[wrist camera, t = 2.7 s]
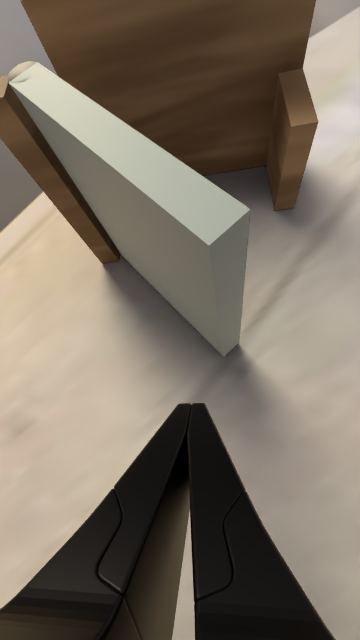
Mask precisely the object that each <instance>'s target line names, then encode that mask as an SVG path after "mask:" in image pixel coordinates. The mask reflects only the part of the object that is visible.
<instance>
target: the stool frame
mask: <svg viewBox="0 0 360 640" xmlns="http://www.w3.org/2000/svg"><path fill="white" fill-rule="evenodd" d="M20 1H21V3H22V5H23V7H24V9H25V11H26V13H27V15H28V17H29V19H30V21H31V23H32V25H33V27H34V29H35V31H36V33H37V35H38V37H39V39H40V41H41V43H42V45H43V47H44V49H45V51H46V53H47V55H48V57H49V59H50V61H51V63H52V65H53V67H54V69H55V71H56V73H57V75H58V77H59V78H61V79H62V80H64V81H65V82H67V83H68V84H70V85H71V86H72V87H74V88H75V89H77V90H78V91H80V92H81V93H83V94H84V95H85V96H87V97H88V98H90V99H91V100H93V101H94V102H96V103H97V104H99V105H100V106H101V107H103V108H104V109H106V110H107V111H109V112H110V113H112V114H113V115H115V116H116V117H117V118H119V119H120V120H122V121H123V122H125V123H126V124H128V125H129V126H130V127H132V128H133V129H135V130H136V131H138V132H139V133H141V134H142V135H144V136H145V137H146V138H148V139H149V140H151V141H152V142H154V143H155V144H157V145H158V146H159V147H161V148H162V149H164V150H165V151H167V152H168V153H170V154H171V155H173V156H174V157H175V158H177V159H178V160H180V161H181V162H183V163H184V164H186V165H187V166H189V167H190V168H191V169H193V170H194V171H196V172H197V173H199V174H200V175H202V176H205V175H211V174H217V173H223V172H229V171H235V170H241V169H247V168H253V167H259V166H265V165H266V167H267V172H268V177H269V183H270V188H271V194H272V199H273V204H274V210H282V209H289V208H294V205H295V202H296V198H297V195H298V191H299V188H300V184H301V181H302V177H303V174H304V170H305V167H306V163H307V160H308V156H309V153H310V149H311V146H312V142H313V139H314V135H315V131H316V128H317V124H318V119H317V116H316V112H315V109H314V105H313V102H312V99H311V95H310V92H309V88H308V85H307V82H306V78H305V75H304V72H303V63H304V58H305V53H306V48H307V43H308V38H309V33H310V28H311V22H312V18H313V12H314V7H315V2H316V0H20ZM0 138H1V139H2V141H3V142H4V143H5V145H6V146H7V147H8V148H9V149H10V151H11V152H12V153H13V154H14V156H15V157H16V158H17V159H18V161H19V162H20V163H21V164H22V165H23V167H24V168H25V169H26V170H27V172H28V173H29V174H30V175H31V177H32V178H33V179H34V180H35V181H36V183H37V184H38V185H39V186H40V188H41V189H42V190H43V191H44V193H45V194H46V195H47V196H48V197H49V199H50V200H51V201H52V202H53V204H54V205H55V206H56V207H57V209H58V210H59V211H60V212H61V213H62V215H63V216H64V217H65V218H66V220H67V221H68V222H69V223H70V225H71V226H72V227H73V228H74V229H75V231H76V232H77V233H78V234H79V236H80V237H81V238H82V239H83V241H84V242H85V243H86V244H87V245H88V247H89V248H90V249H91V250H92V252H93V253H94V254H95V255H96V257H97V258H98V259H99V260H100V261H101V263H110V262H118V261H119V250H118V249H117V247H116V246H115V244H114V243H113V241H112V240H111V238H110V237H109V235H108V234H107V232H106V230H105V229H104V227H103V226H102V224H101V223H100V221H99V220H98V218H97V217H96V215H95V214H94V212H93V211H92V209H91V208H90V206H89V205H88V203H87V202H86V200H85V199H84V197H83V195H82V194H81V192H80V191H79V189H78V188H77V186H76V185H75V183H74V182H73V180H72V179H71V177H70V176H69V174H68V173H67V171H66V170H65V168H64V167H63V165H62V163H61V162H60V160H59V159H58V157H57V156H56V154H55V153H54V151H53V150H52V148H51V147H50V145H49V144H48V142H47V141H46V139H45V138H44V136H43V135H42V133H41V131H40V130H39V128H38V127H37V125H36V124H35V122H34V121H33V119H32V118H31V116H30V115H29V113H28V112H27V110H26V109H25V107H24V106H23V104H22V103H21V101H20V99H19V98H18V96H17V95H16V93H15V92H14V90H13V89H12V87H11V86H10V84H9V81H8V75H7V76H3V77H0Z"/></svg>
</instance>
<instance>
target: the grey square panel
mask: <svg viewBox="0 0 360 640" xmlns="http://www.w3.org/2000/svg"><path fill="white" fill-rule="evenodd" d="M8 81H9V84H10V86H11V87H12V89H13V90H14V92H15V93H16V95H17V96H18V98H19V99H20V101H21V103H22V104H23V106H24V107H25V109H26V110H27V112H28V113H29V115H30V116H31V118H32V119H33V121H34V122H35V124H36V125H37V127H38V128H39V130H40V131H41V133H42V135H43V136H44V138H45V139H46V141H47V142H48V144H49V145H50V147H51V148H52V150H53V151H54V153H55V154H56V156H57V157H58V159H59V160H60V162H61V163H62V165H63V167H64V168H65V170H66V171H67V173H68V174H69V176H70V177H71V179H72V180H73V182H74V183H75V185H76V186H77V188H78V189H79V191H80V192H81V194H82V195H83V197H84V199H85V200H86V202H87V203H88V205H89V206H90V208H91V209H92V211H93V212H94V214H95V215H96V217H97V218H98V220H99V221H100V223H101V224H102V226H103V227H104V229H105V230H106V232H107V234H108V235H109V237H110V238H111V240H112V241H113V243H114V244H115V246H116V247H117V249H118V250H119V252H120V253H121V255H122V256H123V257H124V258H125V259H126V260H127V261H128V262H129V263H130V264H131V265H132V266H133V267H134V268H135V269H136V270H137V271H138V272H139V273H140V274H141V275H142V276H143V277H144V278H145V279H146V280H147V281H148V282H149V283H150V284H151V285H152V286H153V287H154V288H155V289H156V290H157V291H158V292H159V293H160V294H161V295H162V296H163V297H164V298H165V299H166V300H167V301H168V302H169V303H170V304H171V305H172V306H173V307H174V308H175V309H176V310H177V311H178V312H179V313H180V314H181V315H182V316H183V317H184V318H185V319H186V320H187V321H188V322H189V323H190V324H191V325H192V326H193V327H194V328H195V329H196V330H197V331H198V332H199V333H200V334H201V335H202V336H203V337H204V338H205V339H206V340H207V341H208V342H209V343H210V344H211V345H212V346H213V347H214V348H215V349H216V350H217V351H218V352H219V353H220V354H221V355H222V356H223V357H224V356H225V355H226V354H227V353H229V352H230V351H231V350H232V349H233V348H234V347H235V346H236V345H237V344H238V343H239V339H240V327H241V315H242V304H243V292H244V280H245V268H246V256H247V244H248V232H249V220H250V209H249V208H248V207H247V206H245V205H244V204H242V203H241V202H239V201H238V200H236V199H235V198H233V197H232V196H231V195H229V194H228V193H226V192H225V191H223V190H222V189H220V188H219V187H218V186H216V185H215V184H213V183H212V182H210V181H209V180H207V179H206V178H204V177H203V176H202V175H200V174H199V173H197V172H196V171H194V170H193V169H191V168H190V167H189V166H187V165H186V164H184V163H183V162H181V161H180V160H178V159H177V158H175V157H174V156H173V155H171V154H170V153H168V152H167V151H165V150H164V149H162V148H161V147H159V146H158V145H157V144H155V143H154V142H152V141H151V140H149V139H148V138H146V137H145V136H144V135H142V134H141V133H139V132H138V131H136V130H135V129H133V128H132V127H130V126H129V125H128V124H126V123H125V122H123V121H122V120H120V119H119V118H117V117H116V116H115V115H113V114H112V113H110V112H109V111H107V110H106V109H104V108H103V107H101V106H100V105H99V104H97V103H96V102H94V101H93V100H91V99H90V98H88V97H87V96H85V95H84V94H83V93H81V92H80V91H78V90H77V89H75V88H74V87H72V86H71V85H70V84H68V83H67V82H65V81H64V80H62V79H61V78H59V77H58V76H56V75H55V74H54V73H52V72H51V71H49V70H48V69H46V68H45V67H43V66H42V65H40V64H39V63H36V62H32V61H31V62H25V63H22V64H19V65H18V66H16V67H15V68H14V69H12V70H11V72H10V73H9V75H8Z"/></svg>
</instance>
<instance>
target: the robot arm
mask: <svg viewBox="0 0 360 640" xmlns="http://www.w3.org/2000/svg"><path fill="white" fill-rule="evenodd" d="M189 510H190V517H191V540H192V564H193V587H194V602H195V605H194V610H195V640H335V638H334V637H333V635H332V634H331V633H330V631H329V630H328V628H327V627H326V625H325V624H324V622H323V621H322V619H321V618H320V616H319V615H318V613H317V612H316V610H315V609H314V607H313V605H312V604H311V602H310V601H309V599H308V597H307V596H306V594H305V593H304V591H303V589H302V588H301V586H300V585H299V583H298V581H297V580H296V578H295V577H294V575H293V573H292V572H291V570H290V569H289V567H288V565H287V564H286V562H285V561H284V559H283V557H282V556H281V554H280V553H279V551H278V549H277V548H276V546H275V544H274V543H273V541H272V539H271V538H270V536H269V534H268V532H267V531H266V529H265V527H264V526H263V524H262V522H261V520H260V518H259V516H258V514H257V512H256V510H255V508H254V506H253V504H252V502H251V500H250V498H249V496H248V494H247V492H246V491H245V488H244V485H243V483H242V481H241V479H240V477H239V475H238V473H237V471H236V468H235V466H234V464H233V462H232V460H231V458H230V456H229V454H228V452H227V449H226V447H225V445H224V443H223V441H222V439H221V437H220V435H219V432H218V430H217V428H216V426H215V424H214V422H213V420H212V418H211V415H210V413H209V411H208V409H207V407H206V405H205V404H204V403H193V404H192V405H191V404H190V403H185V404H178V405H177V406H176V408H175V409H174V410H173V412H172V413H171V414H170V415H169V417H168V418H167V419H166V421H165V422H164V423H163V424H162V426H161V427H160V428H159V429H158V431H157V432H156V433H155V435H154V436H153V437H152V438H151V440H150V441H149V442H148V444H147V445H146V446H145V447H144V449H143V450H142V451H141V453H140V454H139V455H138V456H137V458H136V459H135V460H134V461H133V463H132V464H131V465H130V467H129V468H128V469H127V470H126V472H125V473H124V474H123V476H122V477H121V478H120V479H119V481H118V482H117V483H116V484H115V486H114V489H111V491H110V492H109V493H108V495H107V496H106V497H105V498H104V500H103V501H102V502H101V503H100V505H99V506H98V507H97V508H96V509H95V511H94V512H93V513H92V514H91V515H90V517H89V518H88V519H87V520H86V521H85V522H84V523H83V525H82V526H81V527H80V528H79V529H78V530H77V531H76V532H75V533H74V535H73V536H72V537H71V538H70V539H69V540H68V541H67V542H66V543H65V544H64V545H63V546H62V548H61V549H60V550H59V551H58V552H57V553H56V554H55V555H54V556H53V557H52V558H51V559H50V560H49V561H48V562H47V564H46V565H45V566H44V567H43V568H42V569H41V570H40V571H39V572H38V573H37V574H36V575H35V576H34V577H33V578H32V580H31V581H30V582H29V583H28V584H27V585H26V586H25V587H24V588H23V589H22V590H21V591H20V592H19V593H18V594H17V595H16V596H15V597H14V598H13V599H12V600H11V601H9V602H8V603H7V604H6V605H5V606H4V607H2V608H1V609H0V640H172V634H173V627H174V619H175V612H176V605H177V597H178V590H179V583H180V576H181V568H182V561H183V554H184V546H185V539H186V532H187V524H188V517H189Z"/></svg>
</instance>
